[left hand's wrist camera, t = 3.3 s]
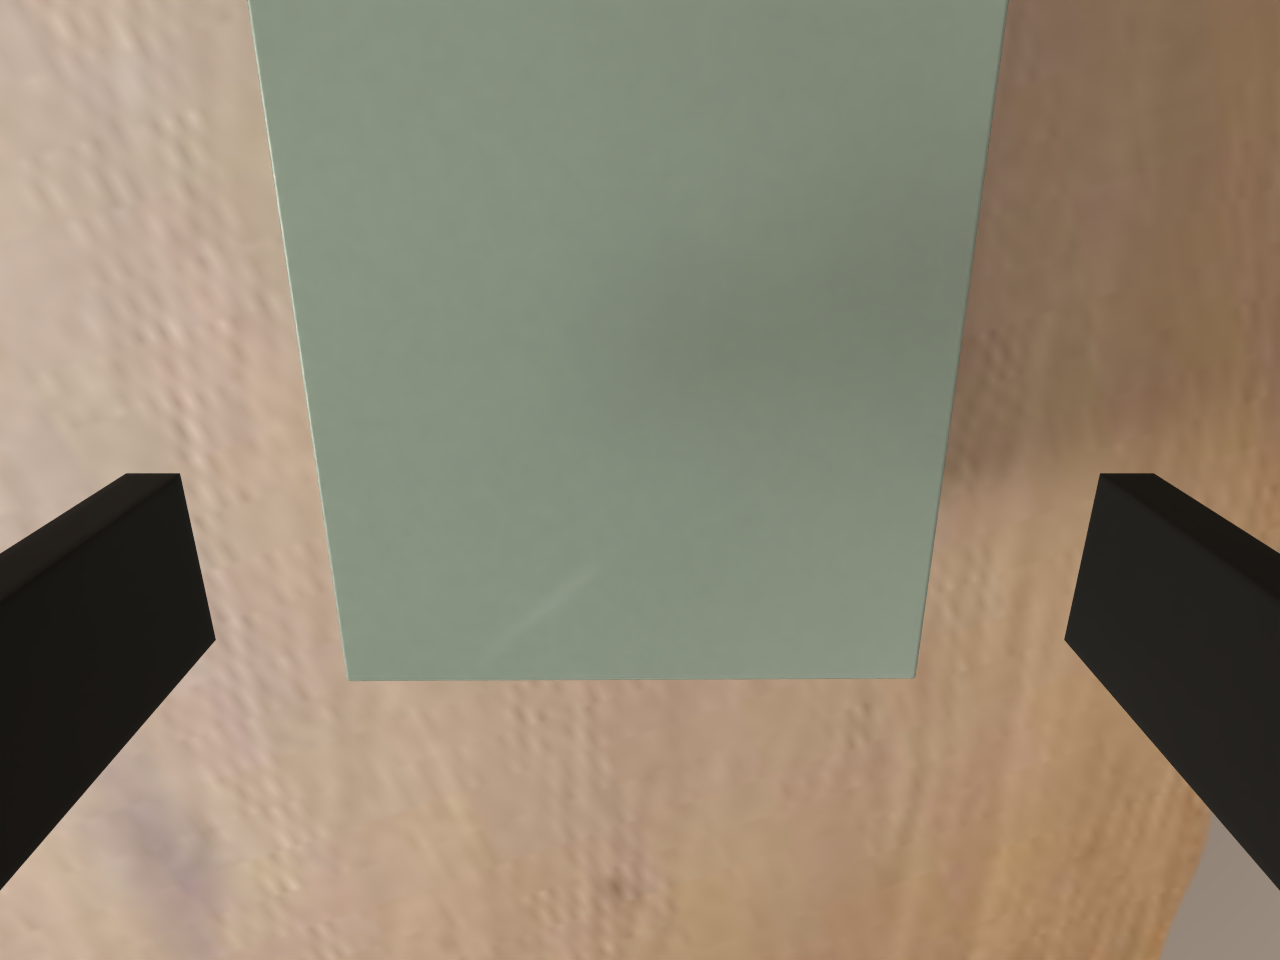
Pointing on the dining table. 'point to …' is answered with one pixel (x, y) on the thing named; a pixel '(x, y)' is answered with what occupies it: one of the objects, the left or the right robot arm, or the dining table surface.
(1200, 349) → the dining table surface
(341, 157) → the cabinet
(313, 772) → the dining table surface
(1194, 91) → the dining table surface
